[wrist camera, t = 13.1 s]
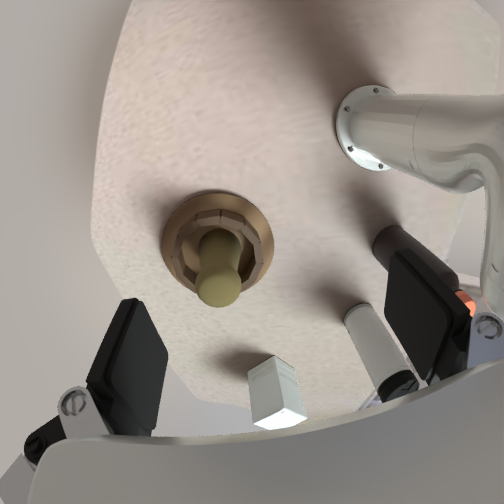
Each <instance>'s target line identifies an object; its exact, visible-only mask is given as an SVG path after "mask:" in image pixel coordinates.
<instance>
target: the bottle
mask: <svg viewBox="0 0 504 504" xmlns="http://www.w3.org/2000/svg"><path fill="white" fill-rule="evenodd" d="M403 248H410V249H411V250H412V251H413V252H414V253H415V254H416V255H418V256H419V257H420V258H421V259H422V260H423V261H424V262H425V263H426V264H427V265H428V266H429V267H430V268H431V269H432V270H433V271H434V272H435V273H436V274H437V275H438V276H439V277H440V278H441V279H442V280H443V281H444V282H445V283H446V284H447V285H448V286H449V287H450V289H451V290H452V291H453V292H454V293H455V294H456V295H457V296H458V297H459V298H460V299H461V300H462V301H463V303H464V304H465V305H466V306H467V307H468V308H469V309H470V310H471V312H470V315H471V316H473V314H474V312H475V308H476V303H475V302H474V300H473V299H472V298H471V297H470V296H469V295H468V294H467V293H465V292H464V291H463V290H461V289H459V280H458V276H457V275H456V274H455V272H454V271H453V270H452V269H450V268H449V267H448V266H447V265H446V264H445V263H444V262H442V261H441V260H440V259H439V258H438V257H437V256H435V255H434V254H433V253H432V252H431V251H429V250H428V249H427V248H426V247H425V246H423V245H422V244H421V243H420V242H418V241H417V240H416V239H415V238H413V237H412V236H411V235H410V234H408V233H407V232H406V231H404V230H403V229H402V228H400V227H397V226H390V227H388V228H385V229H384V230H383V231H382V232H380V234H379V235H378V236H377V238H376V240H375V242H374V247H373V251H374V255H375V257H376V259H377V260H378V261H379V262H380V264H381V265H382V266H383V267H384V268H385V269H386V270H387V271H388V272H389V262H390V256H391V255H393V253H394V251H395V250H398V249H403Z"/></svg>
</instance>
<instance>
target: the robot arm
mask: <svg viewBox="0 0 504 504" xmlns="http://www.w3.org/2000/svg"><path fill="white" fill-rule="evenodd" d="M373 90H374V91H373ZM344 107H345V108H346V111H345V110H344ZM336 131H337V136H338V140H339V143H340V145H341V147H342V149H343V151H344V152H345V154H346V155H347V156H348V157H349V158H350V159H351V160H352V161H353V162H354V163H355V164H357V165H358V166H360V167H362V168H365V169H368V170H371V171H386V170H389V169H392V168H394V169H397V170H399V171H401V172H404V173H406V174H409V175H411V176H413V177H416V178H418V179H420V180H422V181H425V182H427V183H429V184H431V185H433V186H435V187H437V188H440V189H442V190H444V191H447V192H450V193H455V194H465V193H469V192H472V191H474V190H477V189H479V188H480V187H482V186H484V189H485V212H486V214H485V215H486V217H485V231H484V242H483V250H482V261H481V269H480V287H481V292H482V296H483V298H484V300H485V302H486V304H487V306H488V307H489V308H490V310H491V311H492V312H493V313H495V314H496V315H497V316H498V317H497V316H496V315H494V314H491V313H487V312H482V313H478V314H476V315H475V316H474V317H473V318H472V316H471V315H470V312H471V310H470V309H469V308H468V307H467V306H466V305H465V304H464V303H463V301H462V300H461V299H460V298H459V297H458V296H457V295H456V294H455V293H454V292H453V291H452V290H451V289H450V287H449V286H448V285H447V284H446V283H445V282H444V281H443V280H442V279H441V278H440V277H439V276H438V275H437V274H436V273H435V272H434V271H433V270H432V269H431V268H430V267H429V266H428V265H427V264H426V263H425V262H424V261H423V260H422V259H421V258H420V257H419V256H418V255H416V254H415V253H414V252H413V251H412V250H411V249H410V248H403V249H398V250H395V251H394V253H393V255H391V256H390V262H389V273H388V283H387V292H386V300H385V307H384V315H385V318H386V320H387V321H388V323H389V325H390V326H391V328H392V330H393V331H394V333H395V335H396V336H397V338H398V340H399V341H400V343H401V345H402V346H403V348H404V350H405V351H406V353H407V355H408V357H409V358H410V360H411V362H412V364H413V365H414V367H415V369H416V371H417V373H418V374H419V376H420V378H421V379H422V380H426V382H427V384H428V387H425V388H423V389H420V390H417V391H415V392H412V393H410V394H407V395H405V396H402V397H399V398H396V399H394V400H391V401H388V402H385V403H382V404H379V405H376V406H373V407H369V408H366V409H363V410H359V411H356V412H352V413H349V414H345V415H341V416H337V417H333V418H329V419H325V420H321V421H316V422H312V423H307V424H302V425H297V426H291V427H285V428H279V429H273V430H266V431H259V432H251V433H241V434H231V435H217V436H198V437H151V432H152V430H153V429H155V427H156V422H157V416H158V410H159V404H160V399H161V393H162V388H163V382H164V377H165V371H166V367H167V362H168V352H167V349H166V347H165V345H164V343H163V341H162V339H161V338H160V336H159V334H158V332H157V330H156V328H155V326H154V324H153V322H152V320H151V318H150V316H149V313H148V311H147V309H146V307H145V305H144V303H143V302H142V301H139V300H138V299H137V298H131V299H124V300H122V301H121V303H120V305H119V307H118V309H117V311H116V313H115V315H114V317H113V319H112V322H111V324H110V326H109V328H108V330H107V332H106V334H105V336H104V339H103V341H102V343H101V345H100V348H99V350H98V352H97V355H96V357H95V360H94V362H93V364H92V366H91V369H90V372H89V374H88V376H87V379H86V382H87V387H86V388H84V387H80V386H77V387H73V388H71V389H69V390H67V391H66V392H65V393H64V394H63V395H62V396H61V398H60V400H59V403H58V413H59V415H58V416H56V417H55V418H53V419H52V420H50V421H49V422H47V423H46V424H45V425H43V426H42V427H40V428H39V429H37V430H36V431H34V432H33V433H31V434H30V435H29V436H28V438H27V439H26V442H25V445H24V453H25V455H23V454H20V456H19V457H18V458H17V459H16V460H15V462H14V463H13V464H12V465H11V466H10V468H9V469H8V470H7V471H6V473H5V474H4V475H3V476H2V478H1V479H0V497H1V499H2V500H3V502H4V503H5V504H504V323H503V321H502V320H501V319H503V320H504V95H484V96H471V95H440V94H396V93H395V92H393V91H391V90H390V89H388V88H385V87H382V86H377V85H368V86H363V87H359V88H357V89H355V90H353V91H352V92H350V93H349V94H348V95H347V96H346V97H345V99H344V100H343V101H342V103H341V105H340V107H339V109H338V113H337V118H336ZM348 146H349V149H348ZM378 165H379V166H378ZM500 318H501V319H500Z"/></svg>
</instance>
